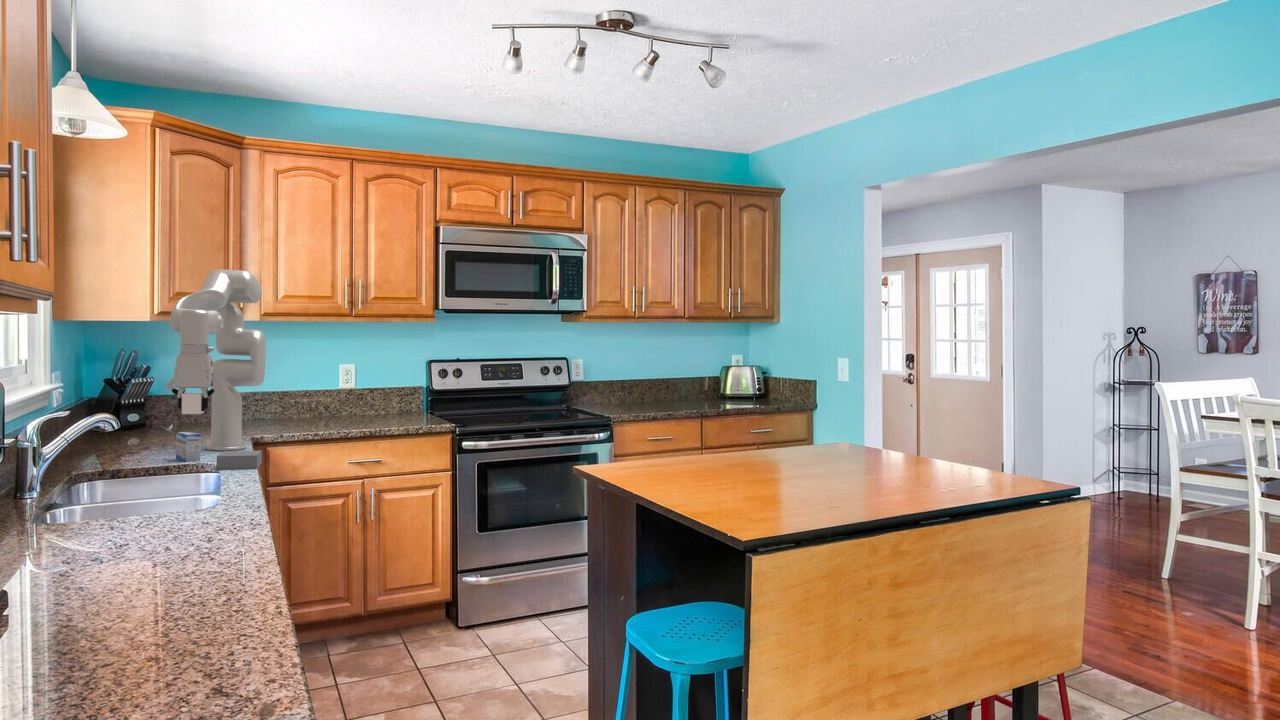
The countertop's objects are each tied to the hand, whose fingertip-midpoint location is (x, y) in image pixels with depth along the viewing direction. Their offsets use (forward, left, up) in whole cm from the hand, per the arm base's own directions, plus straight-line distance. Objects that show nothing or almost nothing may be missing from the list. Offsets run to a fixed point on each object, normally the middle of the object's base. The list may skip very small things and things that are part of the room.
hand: (193, 410), depth 237 cm
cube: (0, 0, -1) cm, 1 cm away
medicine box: (-16, -4, -18) cm, 24 cm away
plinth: (0, +13, -17) cm, 22 cm away
